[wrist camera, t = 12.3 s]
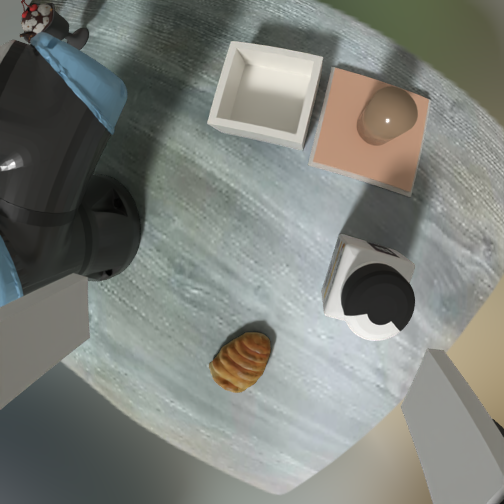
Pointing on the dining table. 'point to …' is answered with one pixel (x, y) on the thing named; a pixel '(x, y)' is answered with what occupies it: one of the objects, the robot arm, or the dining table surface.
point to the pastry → (241, 362)
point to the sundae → (50, 25)
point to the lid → (372, 129)
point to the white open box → (266, 94)
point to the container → (369, 288)
